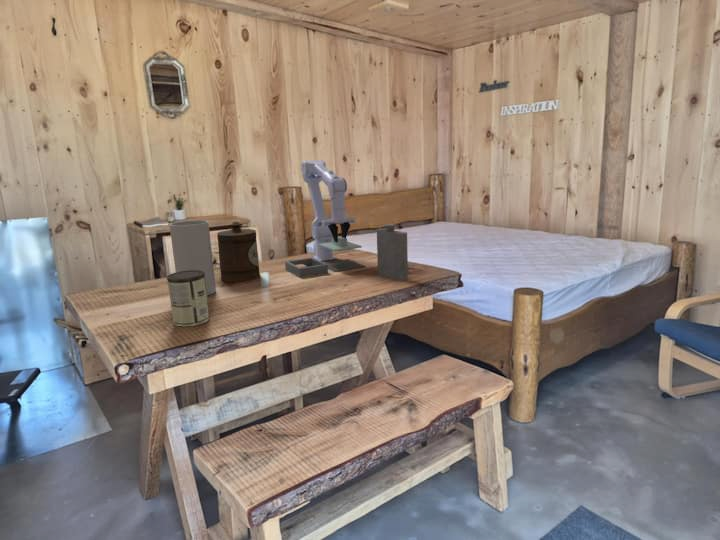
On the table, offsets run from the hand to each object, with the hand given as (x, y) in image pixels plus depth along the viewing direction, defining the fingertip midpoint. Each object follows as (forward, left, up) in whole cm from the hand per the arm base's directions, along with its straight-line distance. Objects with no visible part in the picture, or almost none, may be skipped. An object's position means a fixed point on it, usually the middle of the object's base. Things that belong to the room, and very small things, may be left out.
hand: (339, 241), depth 200 cm
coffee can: (+36, -67, -11) cm, 76 cm away
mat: (0, 0, -10) cm, 10 cm away
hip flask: (+28, +7, -11) cm, 31 cm away
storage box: (0, -16, -10) cm, 19 cm away
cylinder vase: (+7, -60, -11) cm, 61 cm away
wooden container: (-7, -41, -11) cm, 43 cm away
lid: (0, 0, -3) cm, 3 cm away
